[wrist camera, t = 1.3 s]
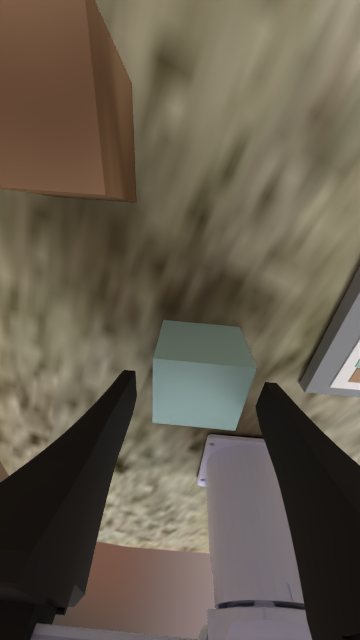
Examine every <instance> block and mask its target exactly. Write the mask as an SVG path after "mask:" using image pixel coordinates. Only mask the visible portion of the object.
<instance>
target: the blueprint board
mask: <svg viewBox="0 0 360 640" xmlns="http://www.w3.org/2000/svg"><path fill="white" fill-rule="evenodd" d="M299 384H300V386H301V387H302V389H303V391H304V392H306V393H317V394H328V395H340V396H351V397H360V267H359V268H358V270H357V272H356V274H355V276H354V278H353V280H352V282H351V284H350V286H349V288H348V290H347V292H346V294H345V296H344V298H343V300H342V302H341V304H340V305H339V307H338V309H337V311H336V313H335V315H334V317H333V319H332V321H331V323H330V325H329V327H328V329H327V331H326V333H325V335H324V337H323V339H322V341H321V342H320V344H319V346H318V348H317V350H316V352H315V354H314V356H313V358H312V360H311V362H310V364H309V366H308V368H307V370H306V372H305V374H304V376H303V378H302V379H301V381H300V383H299Z"/></svg>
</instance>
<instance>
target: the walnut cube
mask: <svg viewBox="0 0 360 640" xmlns="http://www.w3.org/2000/svg"><path fill="white" fill-rule="evenodd" d="M0 189H5V190H13V191H20V192H27V193H34V194H41V195H48V196H56V197H69V198H82V199H96V200H110V201H124V202H136V182H135V156H134V130H133V105H132V83H131V81H130V79H129V76H128V74H127V72H126V70H125V68H124V65H123V63H122V61H121V59H120V56H119V54H118V52H117V50H116V47H115V45H114V43H113V41H112V38H111V36H110V34H109V32H108V30H107V27H106V25H105V23H104V21H103V18H102V16H101V14H100V12H99V9H98V7H97V5H96V3H95V0H0Z"/></svg>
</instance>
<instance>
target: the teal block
mask: <svg viewBox="0 0 360 640" xmlns="http://www.w3.org/2000/svg"><path fill="white" fill-rule="evenodd" d="M256 371H257V366H256V364H255V362H254V359H253V357H252V355H251V352H250V350H249V348H248V345H247V343H246V341H245V338H244V336H243V334H242V331H241V329H240V327H236V326H225V325H214V324H203V323H192V322H181V321H170V320H163V323H162V327H161V330H160V334H159V338H158V342H157V345H156V349H155V353H154V357H153V419H152V423H160V424H171V425H181V426H191V427H202V428H212V429H222V430H233V431H235V430H236V427H237V424H238V421H239V418H240V416H241V413H242V410H243V407H244V404H245V401H246V399H247V396H248V393H249V390H250V387H251V385H252V382H253V379H254V376H255V373H256Z"/></svg>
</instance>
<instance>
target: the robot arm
mask: <svg viewBox="0 0 360 640" xmlns="http://www.w3.org/2000/svg"><path fill="white" fill-rule="evenodd" d="M136 397H137V391H136V375H135V371H130V370H124V371H122V373H121V374H120V375H119V376H118V378H117V379H116V380H115V381H114V383H113V384H112V385H111V386H110V387H109V389H108V390H107V391H106V392H105V393H104V394H103V395H102V396H101V397H100V399H99V400H98V401H97V402H96V403H95V404H94V405H93V406H92V407H91V408H90V409H89V410H88V411H87V412H86V413H85V414H84V415H83V416H82V417H81V418H80V419H79V420H78V421H77V422H76V423H75V424H74V425H73V426H72V427H70V428H69V429H68V430H67V431H66V432H65V433H64V434H63V435H61V436H60V437H59V438H58V439H57V440H55V441H54V442H53V443H52V444H51V445H49V446H48V447H47V448H46V449H45V450H43V451H42V452H41V453H40V454H38V455H37V456H36V457H34V458H33V459H32V460H30V461H29V462H28V463H26V464H25V465H24V466H22V467H21V468H20V469H18V470H17V471H16V472H14V473H13V474H11V475H10V476H9V477H8V478H6V479H5V480H4V481H2V482H0V640H360V465H358V464H357V463H356V462H355V461H354V460H353V459H351V458H350V457H349V456H348V455H347V454H346V453H345V452H344V451H342V450H341V449H340V448H339V447H338V446H337V445H336V444H335V443H334V442H333V441H332V440H331V439H329V438H328V437H327V436H326V435H325V434H324V433H323V432H322V431H321V430H320V429H319V428H318V427H317V426H316V425H315V424H314V423H313V422H312V421H311V420H310V419H309V418H308V417H307V416H306V415H305V413H304V412H303V411H302V410H301V409H300V408H299V407H298V406H297V405H296V404H295V403H294V402H293V401H292V400H291V398H290V397H289V396H288V395H287V394H286V393H285V392H284V391H283V390H282V389H281V388H280V387H279V385H278V384H277V383H269V382H265V384H264V386H263V389H262V391H261V394H260V396H259V399H258V401H257V404H256V406H255V407H256V412H257V417H258V421H259V425H260V429H261V432H262V435H263V438H264V439H258V438H247V437H237V436H226V435H215V434H211V435H209V436H208V437H207V440H206V444H205V449H204V453H203V457H202V461H201V466H200V470H199V474H198V479H197V484H198V485H199V486H206V494H207V513H208V532H209V551H210V562H211V569H212V574H213V584H214V600H215V608H216V609H208V610H207V623H208V624H206V625H205V626H203V628H202V629H201V631H200V634H199V637H198V639H188V638H177V637H168V636H158V635H148V634H139V633H129V632H118V631H109V630H99V629H89V628H79V627H69V626H59V625H52V623H53V620H54V617H55V614H58V615H65V613H66V610H67V607H68V606H69V607H74V606H75V605H76V604H77V603H78V602H79V601H80V599H81V598H82V597H83V596H84V594H85V591H86V586H87V581H88V577H89V572H90V568H91V563H92V559H93V554H94V550H95V545H96V541H97V537H98V532H99V528H100V524H101V520H102V515H103V511H104V507H105V503H106V499H107V495H108V491H109V487H110V483H111V480H112V476H113V472H114V468H115V465H116V462H117V458H118V455H119V452H120V450H121V447H122V444H123V441H124V438H125V435H126V432H127V429H128V426H129V424H130V421H131V418H132V415H133V411H134V406H135V402H136Z"/></svg>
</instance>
